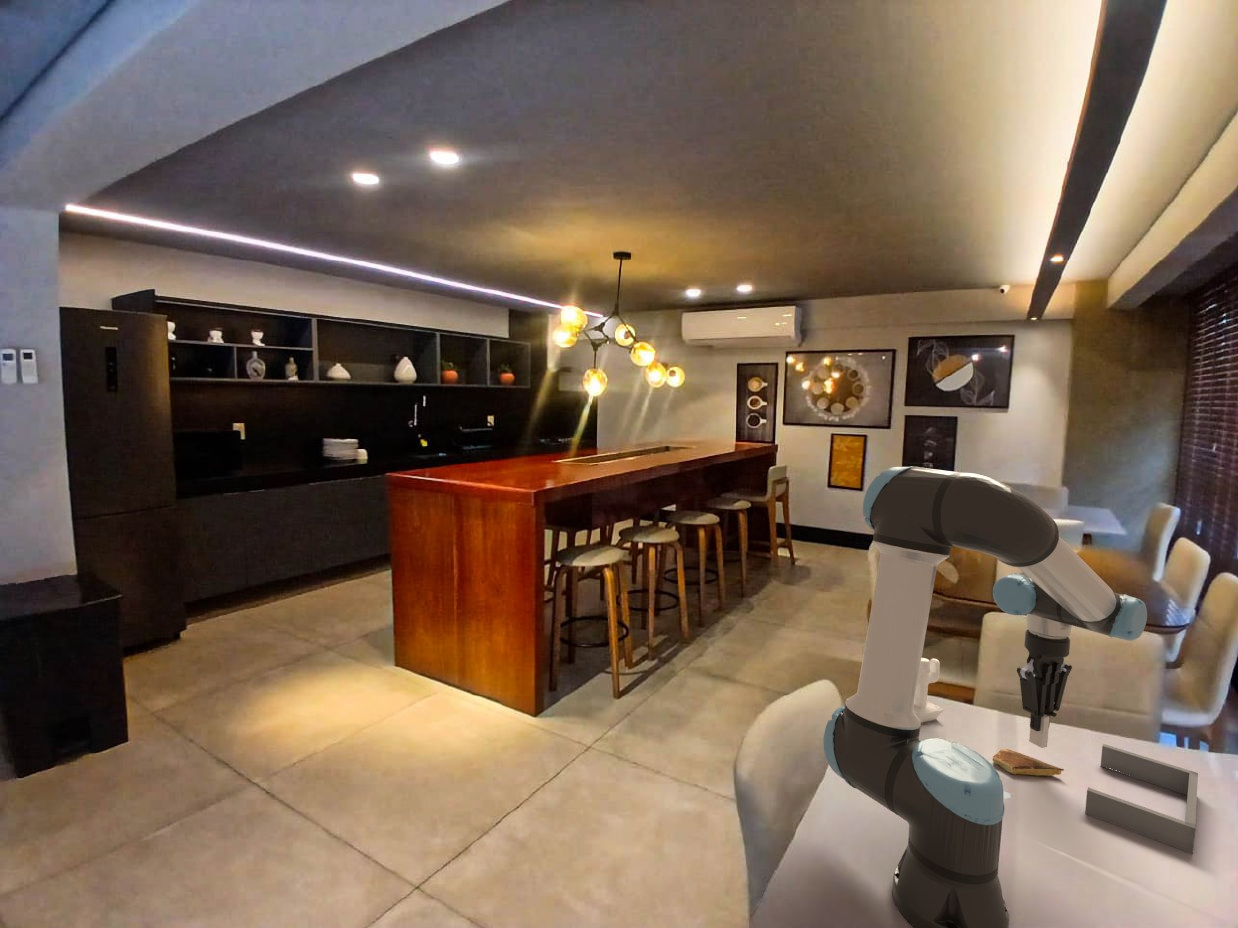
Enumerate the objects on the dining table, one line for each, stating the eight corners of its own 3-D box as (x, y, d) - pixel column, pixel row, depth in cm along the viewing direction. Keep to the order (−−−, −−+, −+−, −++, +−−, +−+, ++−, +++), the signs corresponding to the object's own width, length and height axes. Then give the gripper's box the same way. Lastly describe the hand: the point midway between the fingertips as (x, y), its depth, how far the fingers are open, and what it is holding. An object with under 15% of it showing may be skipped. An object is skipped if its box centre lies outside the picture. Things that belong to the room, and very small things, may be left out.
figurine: (892, 715, 148) (895, 655, 147) (921, 709, 152) (925, 650, 150) (916, 730, 142) (920, 667, 140) (946, 723, 145) (950, 662, 144)
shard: (1064, 776, 124) (1064, 767, 124) (1051, 791, 119) (1051, 782, 119) (1003, 753, 132) (1004, 745, 132) (989, 766, 127) (990, 758, 127)
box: (1085, 813, 113) (1087, 790, 113) (1101, 764, 129) (1103, 743, 129) (1192, 853, 103) (1195, 828, 103) (1195, 794, 119) (1198, 772, 119)
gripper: (1042, 642, 119) (1032, 758, 121) (1089, 636, 124) (1078, 748, 126) (1007, 629, 126) (998, 739, 128) (1052, 623, 131) (1042, 730, 133)
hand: (1038, 743), depth 127 cm, fingers closed
